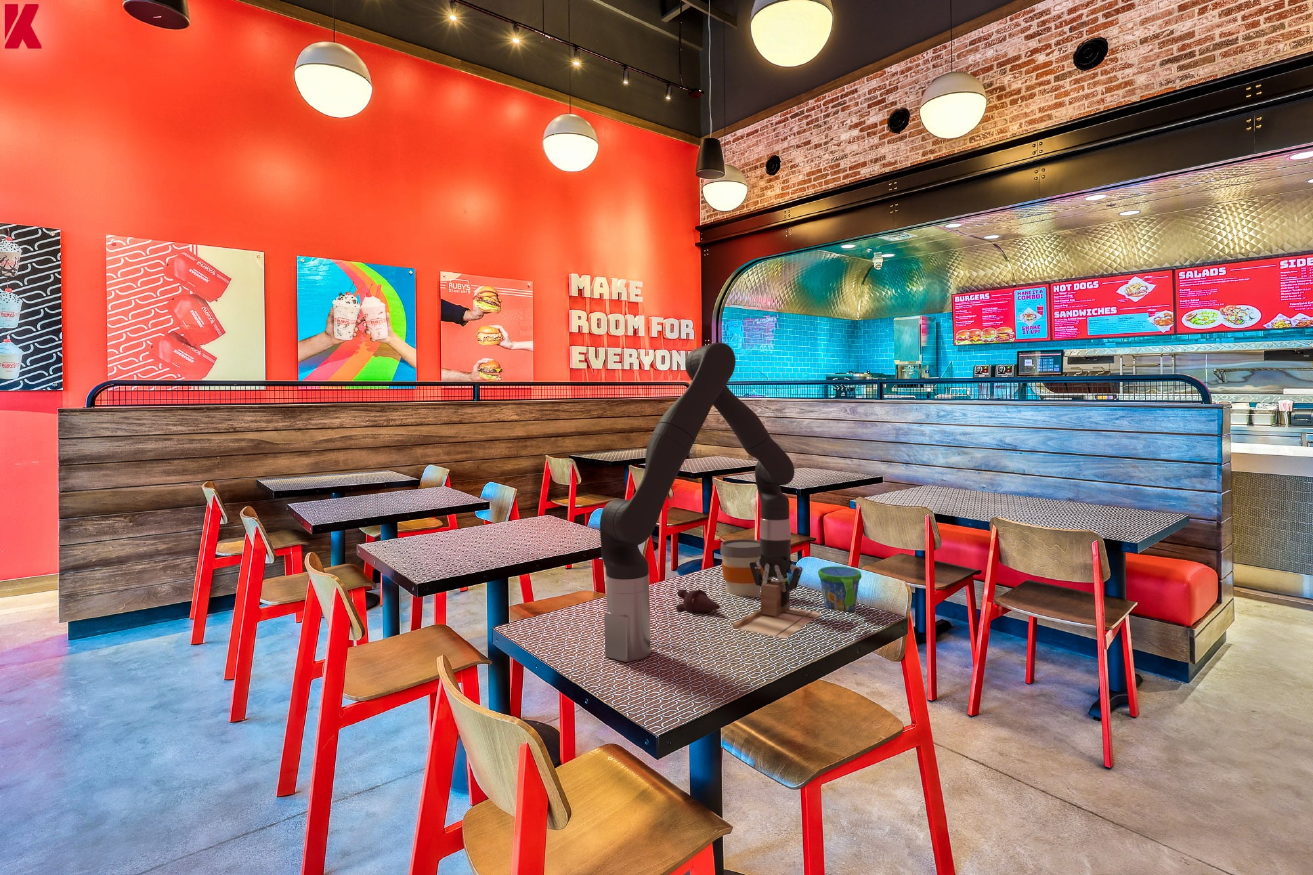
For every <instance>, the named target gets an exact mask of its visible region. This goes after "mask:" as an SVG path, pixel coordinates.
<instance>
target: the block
mask: <svg viewBox="0 0 1313 875" xmlns="http://www.w3.org/2000/svg"><path fill="white" fill-rule="evenodd" d="M789 584H790V581H789ZM781 592H782V590H781V585H780V583H779V582H778V579H773V580H771V582H768V583H765V584H762V585H761V589H760V609H761V614H766V615H772V616H777V615H779V614H782V613H784V612H786V611H788V610H790V608H791V607H790V606H791V604H790V603H791V591H789V604H787V606H786V607H782V606H781Z"/></svg>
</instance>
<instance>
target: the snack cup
mask: <svg viewBox="0 0 1313 875" xmlns="http://www.w3.org/2000/svg"><path fill="white" fill-rule="evenodd" d="M817 574H818V578H819V579H820V585H821V593H822V598H823V605H824V608H825V610H826V609H827V610H831V611H837V612H838V611H839V612H843V613H849V614H850V613H852V612H855V610H856V606H857V599H858V593H859V584H860V580H861V579H862V573H861V571H860V570H858V569H857V568H853V567H848V566H837V565H836V566H827V567H826V566H825V567H822V568H820V569H818V571H817Z"/></svg>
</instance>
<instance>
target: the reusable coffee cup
mask: <svg viewBox="0 0 1313 875" xmlns="http://www.w3.org/2000/svg"><path fill="white" fill-rule="evenodd" d="M720 555H721V560H722V562H721V563H720V564H721V568H722V577H723V580H724V581H725V588H726V593H728V594H729V595H733V596H741V597H744V596H745V597H747V596H749V597H752V598H753V597H754V598H761V586H759V585H758V586H757V585H756V584H755V581H754V578H753V574H752V571H751V568H750V563H751V562H753V561H759V559H760V557H761V554H760V540H757V539H750V538H749V539H747V538H745V539H744V538H741V539H740V538H739V539H738V538H737V539H727V540H724V541H723V540H722V541H721V543H720ZM760 570H761V573H762V577H763V575H764V570H763V568H762V567H761V568H760Z"/></svg>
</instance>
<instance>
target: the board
mask: <svg viewBox="0 0 1313 875" xmlns="http://www.w3.org/2000/svg"><path fill="white" fill-rule="evenodd" d="M822 613H823V612H822ZM822 613H821V612H815V611H812V610H811V611H810V610H805V609H798V608H794V607H793V608H792V607H790V610H788V611H786V612H784V613H782V614H779V615H777V616H772V615H766V614H761V608H759V609H757V610H755V611H754V612H752V613H750V614H749V615H747V616H745V617H743V618H741V619H740V620H737V621H736V622H734V623H732V625H731V626H730V628H732V629H735V630H742V631H745V632H751V633H757V634H759V635H766V636H771V637H775V638H781V639H785V640H786V639H788V638H789V637H790V636H791V635H793V634H794V633H796V632H797V631H799V630H800V629H802V628H803V627H805V626H806V625H808V624H809V623H810V622H812V621H813V620H815V619H817V618H818V617H819V616H820V615H822Z"/></svg>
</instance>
